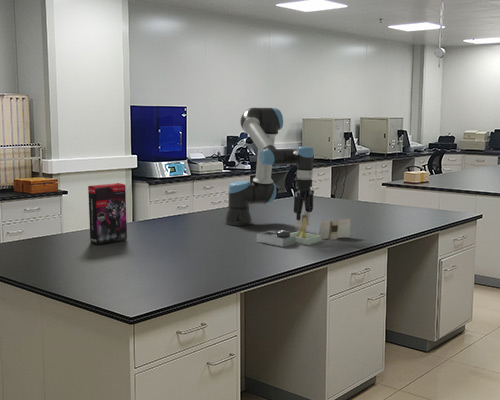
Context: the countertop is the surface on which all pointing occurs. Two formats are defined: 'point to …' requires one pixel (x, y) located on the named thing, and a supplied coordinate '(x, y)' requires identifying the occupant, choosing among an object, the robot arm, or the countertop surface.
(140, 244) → the countertop surface
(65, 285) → the countertop surface
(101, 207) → the graphics card box
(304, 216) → the lock pin
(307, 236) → the tray
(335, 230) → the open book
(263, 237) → the base
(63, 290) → the countertop surface
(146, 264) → the countertop surface
